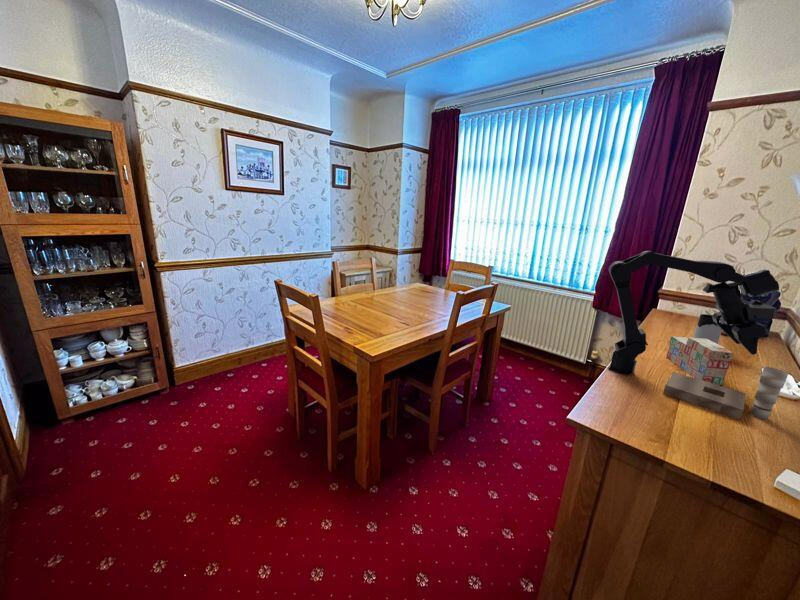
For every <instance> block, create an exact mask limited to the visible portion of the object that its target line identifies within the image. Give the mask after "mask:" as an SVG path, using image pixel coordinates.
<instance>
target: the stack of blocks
mask: <svg viewBox="0 0 800 600" xmlns="http://www.w3.org/2000/svg"><path fill="white" fill-rule="evenodd" d="M733 356H734V352H732V351H731V350H729V349H727V348H726V347H724V346H722V345H720V344H716V343H714V342H712V341H710V340H708V339H702V338H693V337H689V336H688V337H684V336H670V340H669V345H668V349H667V353H666V359H668V360H669V361H670V362H671V363H672V364H674V365H676V366H677V367H678V368H680V369H681V370H683V372H685V373H687V374H688V375H689V376H690V377H694V378H696V379H699V380H703V381H706V382H709V383H713V384H716V385H722V386H723V385H724V381H725V379H726V375H727V373H728V370H729V367H730V365H731V362H732V360H733V359H732V357H733Z"/></svg>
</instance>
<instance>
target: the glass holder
mask: <svg viewBox="0 0 800 600" xmlns="http://www.w3.org/2000/svg"><path fill="white" fill-rule="evenodd" d="M712 316H713V314H706V313H705V314H704V313H703V314H702V313H701V314H700V315H699V318H698V320H697V321H698V322H697V325H696V326H695V329H694V330H695V331H694V334H693V336H692V338H702V339H708V340H710V341H712V342H714V343H716V344H718V343H719V341H720V337H721V336H722V335H721V334H722V331H723V330H722V329H721V328H720V327H719V326H718V325H717V324H716V323H715V322H714V321H713V318H712ZM718 345H719V344H718Z"/></svg>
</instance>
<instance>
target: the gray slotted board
mask: <svg viewBox="0 0 800 600" xmlns="http://www.w3.org/2000/svg"><path fill="white" fill-rule="evenodd" d="M663 394H664V395H666V396H670V397H672V398H675V399H679V400H680V401H681V400H682V401H684V402H686V403H687V402H688V403H690V404H693V405H696V406H699V407H702V408H704V409H708V410H711V411H714V412H715V413H718V414H719V413H720V414H723V415H726V416H728V415H729V417H732V418H733V419H737V420H741V417H742V415H743V413H744V410H745V401H746V394H747V393H746V392H743V391H739V390H737V389H733V388H731V387H730V388H729V387H726V386H723V385H722V386H720V385H716V384H713V383H709V382H706V381H703V380H699V379H696V378H693V377H692V376H690V375H689V376H688V375H685V374H682V373H679V372H675V371H673V373H672V374H671V375H670V377H669V379H668V381H666V383H665V385H664V389H663V392H662V395H663Z"/></svg>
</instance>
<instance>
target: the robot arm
mask: <svg viewBox="0 0 800 600" xmlns="http://www.w3.org/2000/svg"><path fill="white" fill-rule="evenodd" d="M648 265H654V266H658V267H663V268H668V269H672V270H678V271H682V272H688V273H691V274H694V275H697V276H699V277H703V278H705V279H707V280H710V281H713V282H716V284H715V283H714V284H712V283H709V282H707V283H706V286H705V287H704V288H703V289H702V291H703V292H705V293H707V294H710V293H712V294H713V297H714V300H715V303H716V305H715V308H716V310H718V311H717V312H714V313H713V314H712V315H713V316H712V318H713V321H714V322H715V323H716V324H717V325H718V326H719V327H720V328H721V329H722V331H723V332H724V333H725V334H726V335H727V336H728V337H729V338H730V339H731V340H732V341H733V342H734V343H735V344H736V345H739V344H741V345H742V346H743V347H744V349H746V350H747V352H749V353H750V355H753V356H754V355H757V353H758V343H759V339H760V338H761V337H764V336H765V335H768V334H769V330H768V328H767V326H766V325H764V324H761V323H759V322H757V321H755V318H756V319H769V320H774V319H775V315H776V310H777V307H774V306H772V305H768V304H766V303H764V304H763V303H762V301H760V300H757V299H750V302H748V303H747V302H745V301H744V299H743V297H742V295H744V296H747V295H748V297H749V298H750V297H751V298H753V297H759V296H762V295H767V294H771V293H777V292H779V291H780V285H779V282H778V280H777V279H776V278H775V276H774V275H772V274H771V271H770V269H761V270H758V271H756V272H751V273H748V274H740V273H738V272H736V269H735V268H734V266H733V265H732V264H729V263H726V262H725V263H724V262H721V261H714V260H713V261H712V260H711V261H710V260H692V259H686V258H683V257H676V256H673V255H666V254H663V253H662V254H661V253H657V252H653V251H651V250H644V251H642V252H641V253H638V254H636V255H634V256H631V257H628V258H626V259H624V260H617V261H614V262H612V263H610V265H609V267H608V273H609V274H610V278H611V280H612V281H613V285H614V286H615V289H616V293H617V298H618V303H619V309H620V313H621V318H622V323H623V331H622V339H621V340H619V341H617V342H615V343H614V348H615V350H614V351H613V352H612V356H611V360H610V366H608V368H607V369H608V370H611V371H613V372H616V373H618V374H622V375H626V376H627V377H629V376H630V375H632V374H634V373H635V370H636V367H637V363H638V361H637V360H636V358H637V357H638V356H639V355H641V354H643V353H644V352H645V351H646V349H647V346H649V343H648V342H647V333H646V332H645V331H644V329H643V328H639V327H638V322H637V316H636V313H635V307H634V302H633V296H632V292H631V283H632V273H635V272H637V271H639V270H640V269H643V268H644V267H646V266H648ZM728 282H729V283H728ZM748 321H749V322H748Z"/></svg>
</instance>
